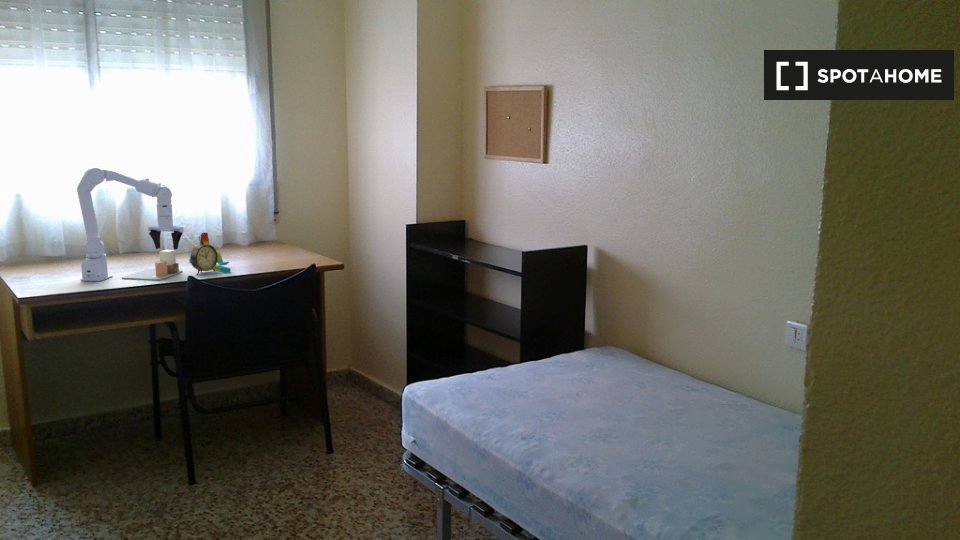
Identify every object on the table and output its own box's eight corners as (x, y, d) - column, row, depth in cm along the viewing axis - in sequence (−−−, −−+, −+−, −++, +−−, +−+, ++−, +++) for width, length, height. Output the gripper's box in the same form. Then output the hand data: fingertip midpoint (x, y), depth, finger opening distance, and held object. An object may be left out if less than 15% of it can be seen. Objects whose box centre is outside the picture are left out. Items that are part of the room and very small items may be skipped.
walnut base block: (171, 274, 318) (171, 265, 317) (157, 273, 318) (157, 265, 318) (178, 271, 324) (178, 263, 323) (165, 270, 324) (164, 262, 324)
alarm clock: (197, 275, 318) (195, 236, 315) (188, 274, 321) (186, 235, 318) (219, 271, 328) (217, 233, 324) (210, 270, 330) (208, 232, 327)
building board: (160, 280, 308) (160, 279, 308) (121, 278, 310) (121, 277, 310) (183, 271, 326) (183, 270, 325) (146, 270, 328) (146, 268, 327)
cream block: (170, 265, 318) (169, 251, 317) (160, 264, 318) (159, 251, 317) (175, 263, 322) (175, 250, 321) (165, 262, 323) (164, 249, 322)
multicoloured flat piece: (231, 272, 327) (229, 237, 324) (224, 273, 325) (222, 238, 322) (196, 262, 348) (194, 229, 345) (189, 263, 345) (187, 229, 343)
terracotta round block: (164, 277, 312) (163, 263, 311) (153, 276, 312) (152, 263, 311) (169, 274, 316) (168, 261, 315) (159, 274, 317) (158, 261, 315)
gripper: (186, 215, 319) (188, 248, 322) (153, 214, 321) (155, 246, 324) (177, 217, 313) (179, 250, 315) (143, 216, 314) (146, 249, 317)
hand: (166, 248), depth 319 cm, fingers open, 7 cm apart
